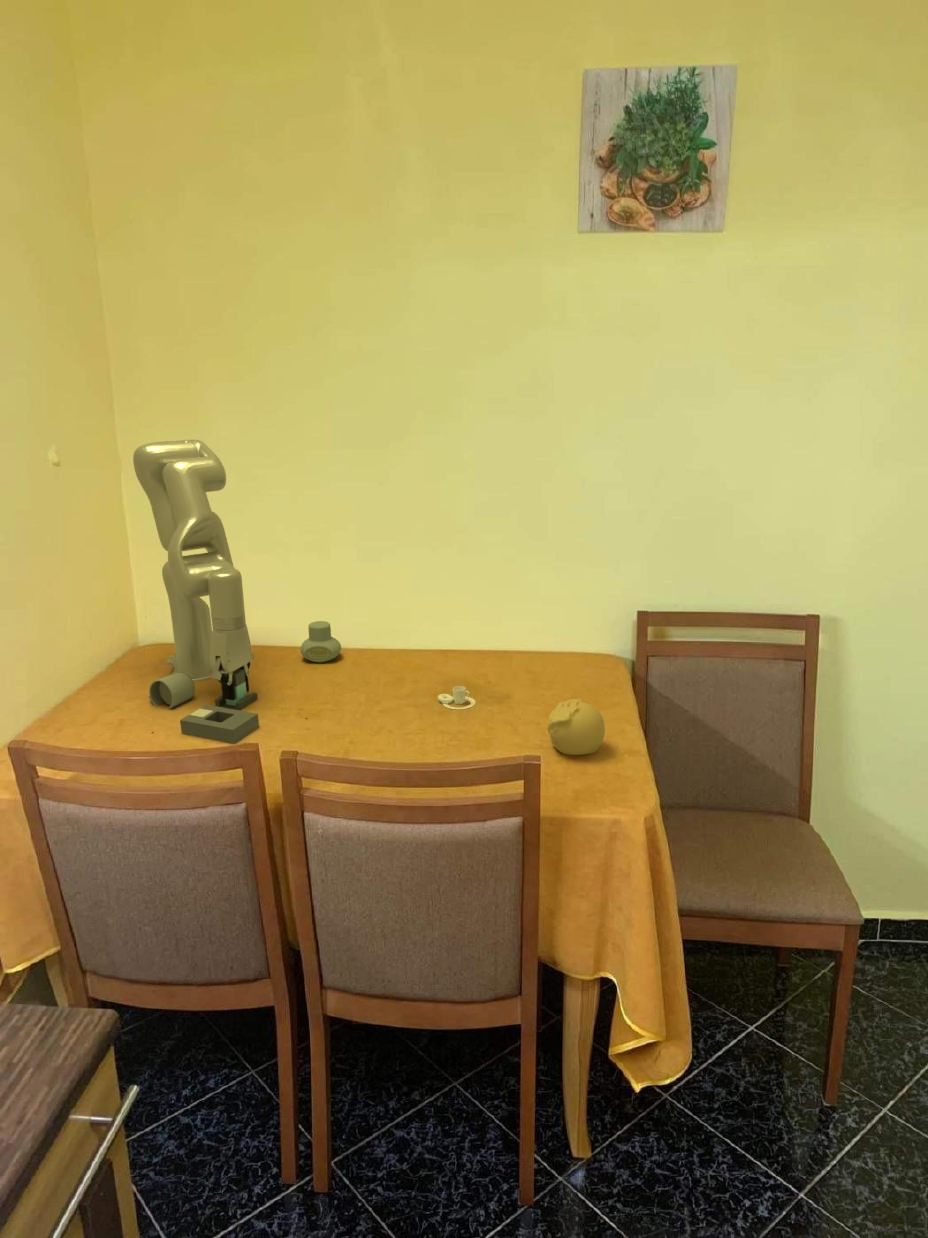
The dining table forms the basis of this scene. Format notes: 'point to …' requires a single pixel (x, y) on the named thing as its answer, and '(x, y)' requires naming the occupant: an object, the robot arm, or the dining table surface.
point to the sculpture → (576, 727)
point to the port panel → (219, 723)
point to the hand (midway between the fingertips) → (236, 694)
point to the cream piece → (456, 698)
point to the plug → (238, 686)
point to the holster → (240, 704)
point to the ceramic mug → (171, 690)
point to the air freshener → (320, 643)
